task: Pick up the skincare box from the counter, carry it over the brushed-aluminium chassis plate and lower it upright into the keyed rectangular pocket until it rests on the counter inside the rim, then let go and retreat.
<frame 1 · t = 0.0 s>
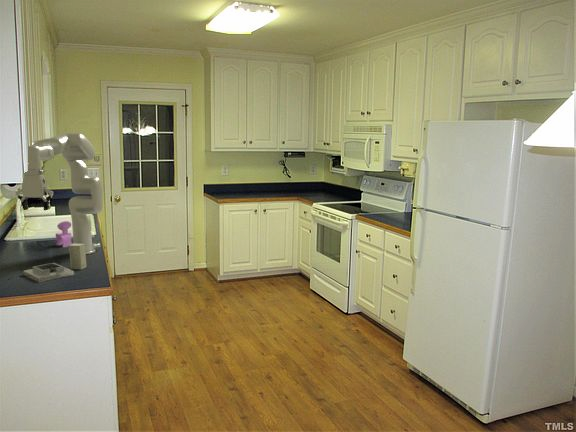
hand: (36, 209, 232), 31 cm above the counter, tool pointing down, fingers open, 9 cm apart
chassis: (48, 274, 238), on the counter
skincare box: (78, 268, 249), on the counter
toy chair: (64, 245, 300), on the counter
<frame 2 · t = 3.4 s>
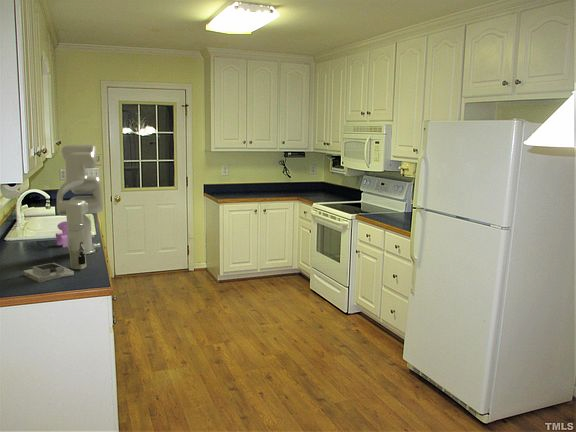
hand: (78, 262, 249), 3 cm above the counter, tool pointing down, fingers closed on skincare box, 7 cm apart
skincare box: (78, 268, 249), on the counter, touching gripper
everything else where it was.
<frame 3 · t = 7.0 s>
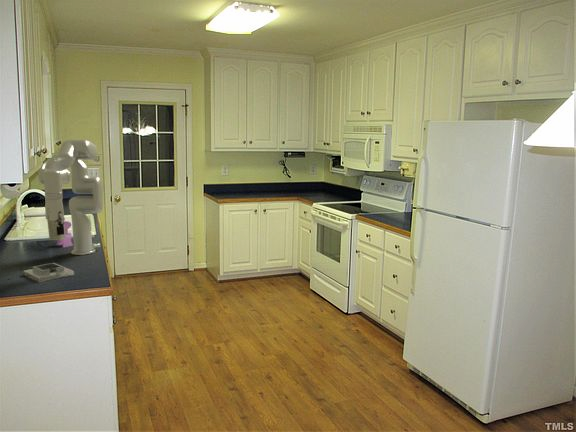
hand: (56, 233, 239), 19 cm above the counter, tool pointing down, fingers closed on skincare box, 7 cm apart
skincare box: (57, 239, 239), point 16 cm above the counter, touching gripper
everything else where it was.
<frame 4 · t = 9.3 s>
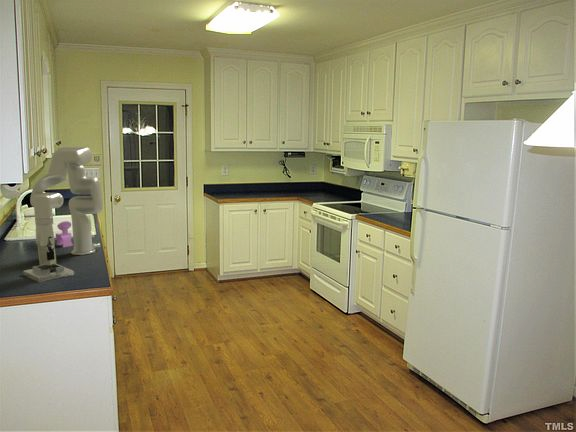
hand: (47, 258, 236), 8 cm above the counter, tool pointing down, fingers closed on skincare box, 7 cm apart
skincare box: (47, 264, 237), point 5 cm above the counter, touching gripper
everything else where it was.
when the fingers open (5 cm above the counter, at t = 10.9 s): skincare box drops 2 cm, resting in chassis.
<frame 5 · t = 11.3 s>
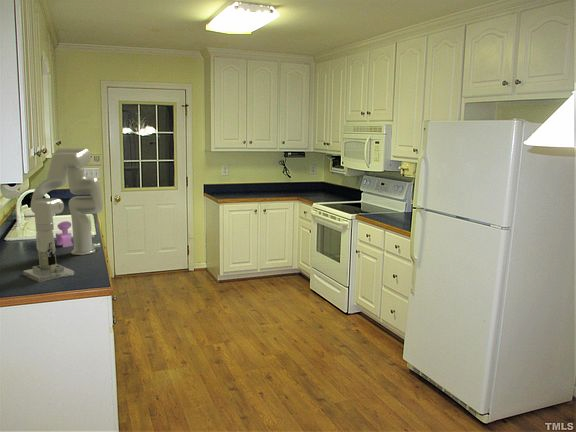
hand: (47, 262, 237), 6 cm above the counter, tool pointing down, fingers open, 9 cm apart
skincare box: (48, 275, 238), resting in chassis
everything else where it was.
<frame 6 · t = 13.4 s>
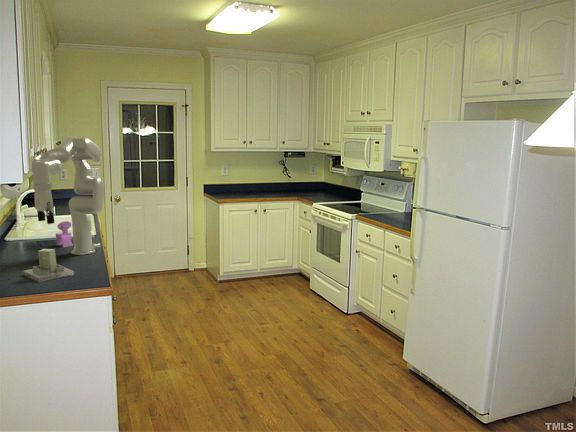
hand: (46, 222, 242), 24 cm above the counter, tool pointing down, fingers open, 9 cm apart
nothing on the counter moved.
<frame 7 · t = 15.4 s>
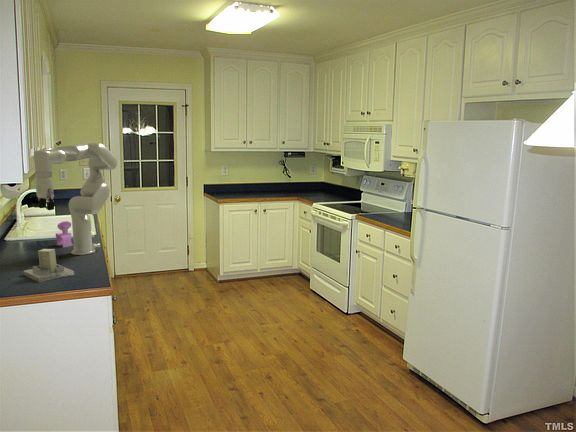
hand: (46, 208, 254), 28 cm above the counter, tool pointing down, fingers open, 9 cm apart
nothing on the counter moved.
at the end: skincare box 0.4 cm off-centre on the chassis, point 0.0 cm above the chassis's base; skincare box tilted 0°; the gripper is holding nothing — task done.
